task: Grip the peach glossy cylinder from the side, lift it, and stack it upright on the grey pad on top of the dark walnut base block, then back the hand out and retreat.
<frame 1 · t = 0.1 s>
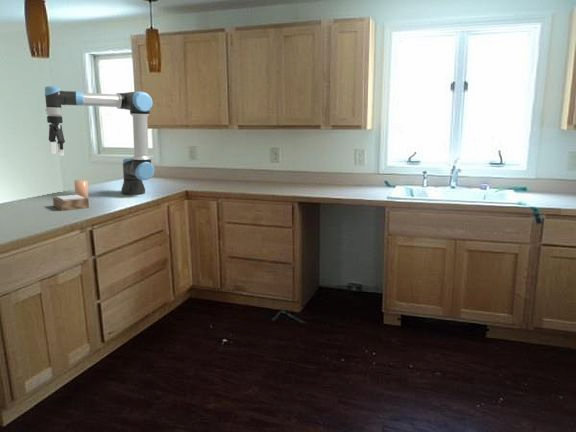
hand: (57, 154, 256), 28 cm above the counter, fingers open, 13 cm apart
peach glossy cylinder: (82, 200, 271), on the counter
walnut base: (71, 207, 253), on the counter
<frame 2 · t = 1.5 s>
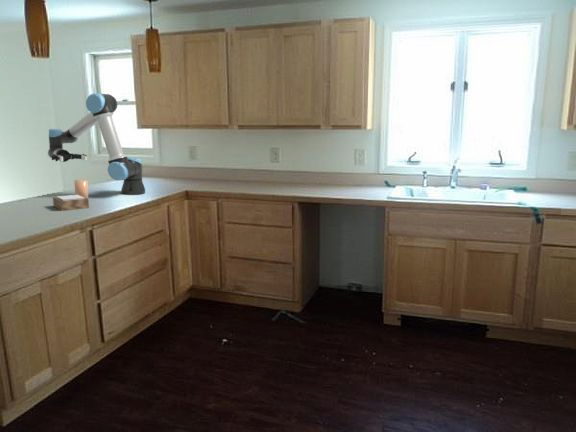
hand: (74, 158, 272), 24 cm above the counter, fingers open, 13 cm apart
nothing on the counter moved.
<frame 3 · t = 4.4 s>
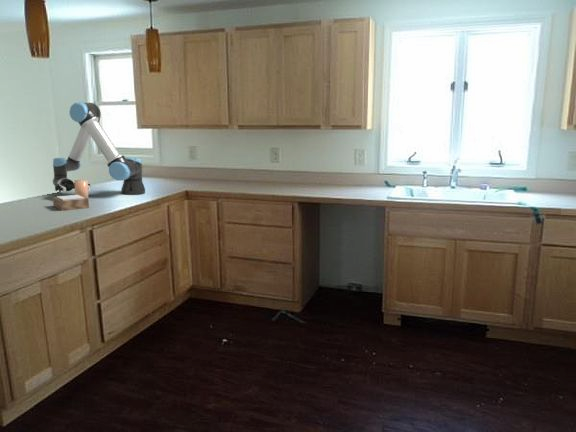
hand: (77, 189, 273), 6 cm above the counter, fingers open, 13 cm apart
nothing on the counter moved.
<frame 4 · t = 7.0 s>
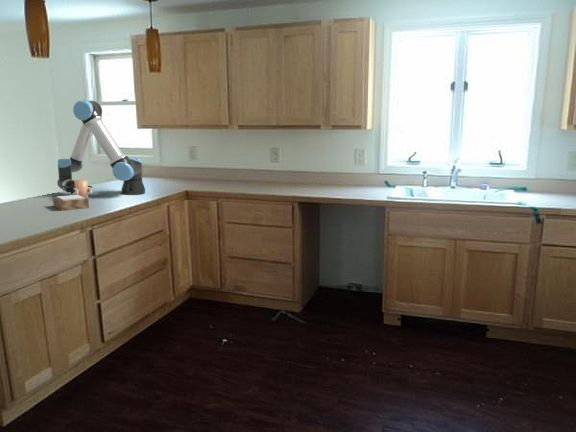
hand: (84, 191, 266), 7 cm above the counter, fingers closed on peach glossy cylinder, 7 cm apart
peach glossy cylinder: (82, 200, 271), on the counter, touching gripper
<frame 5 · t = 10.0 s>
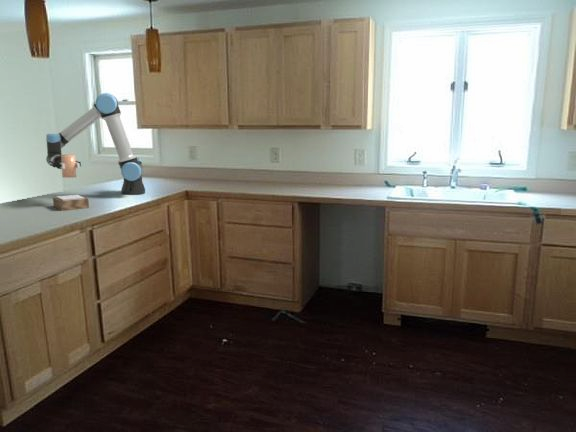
hand: (71, 166, 251), 22 cm above the counter, fingers closed on peach glossy cylinder, 7 cm apart
peach glossy cylinder: (69, 176, 256), point 16 cm above the counter, touching gripper
when the fingers open (13 cm above the counter, at t = 13.3 s): peach glossy cylinder drops 1 cm, resting on walnut base.
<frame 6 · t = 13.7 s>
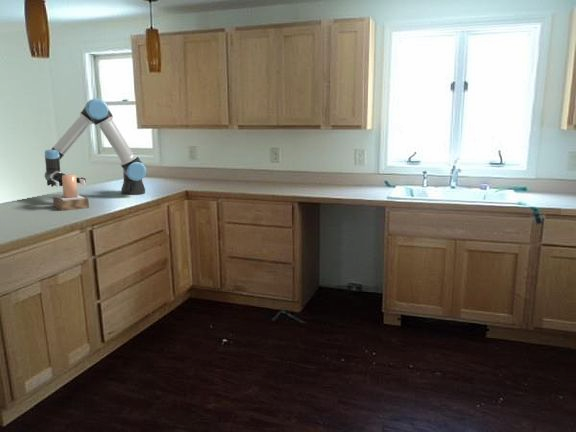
hand: (71, 183, 248), 13 cm above the counter, fingers open, 13 cm apart
peach glossy cylinder: (70, 197, 252), point 6 cm above the counter, touching walnut base
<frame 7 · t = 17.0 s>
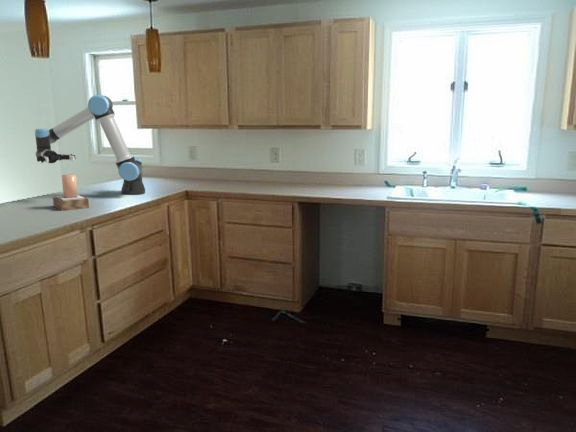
hand: (61, 159, 254), 25 cm above the counter, fingers open, 13 cm apart
nothing on the counter moved.
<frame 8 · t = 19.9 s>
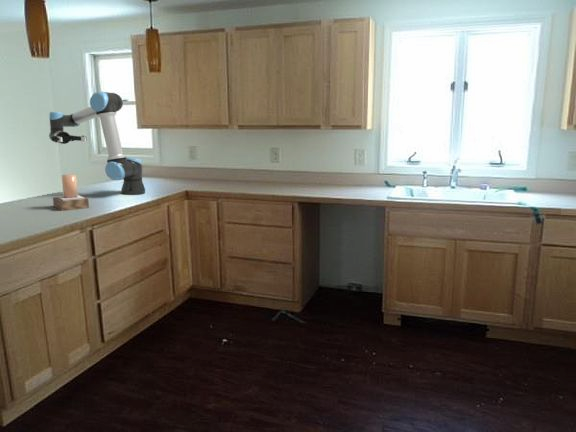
hand: (73, 139, 275), 35 cm above the counter, fingers open, 13 cm apart
nothing on the counter moved.
at the end: peach glossy cylinder inside the target area on the walnut base (0.1 cm from its centre), point 5.6 cm above the walnut base's base; peach glossy cylinder tilted 0°; the gripper is holding nothing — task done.
